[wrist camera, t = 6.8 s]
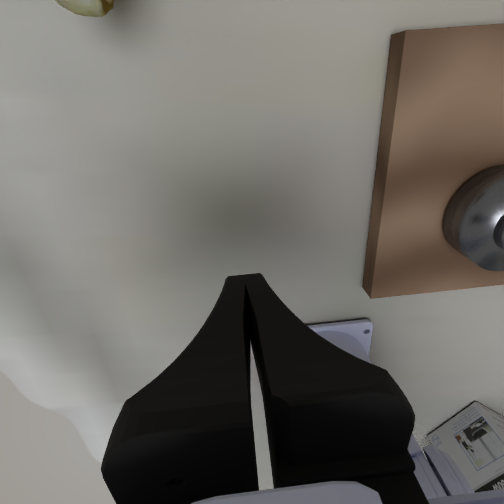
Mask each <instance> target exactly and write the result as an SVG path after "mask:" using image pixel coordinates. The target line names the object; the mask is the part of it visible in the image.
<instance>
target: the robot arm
mask: <svg viewBox="0 0 504 504" xmlns="http://www.w3.org/2000/svg"><path fill="white" fill-rule="evenodd" d="M366 329H367V330H366ZM364 330H366V331H364ZM372 331H373V323H372V322H371V320H369V319H364V320H355V321H345V322H336V323H327V324H318V325H309V326H307V325H306V324H304V323H303V322H302V321H301V320H300V319H299V318H298V317H297V316H295V315H294V314H293V313H292V312H291V311H290V310H289V309H288V308H287V306H286V305H285V304H284V303H283V302H282V301H281V300H280V299H279V297H278V296H277V295H276V294H275V293H274V291H273V290H272V289H271V287H270V286H269V285H268V283H267V282H266V280H265V278H264V277H263V275H262V274H260V273H256V274H246V275H237V276H228V277H227V278H226V280H225V284H224V287H223V289H222V292H221V294H220V296H219V298H218V300H217V302H216V304H215V306H214V308H213V310H212V312H211V313H210V315H209V317H208V318H207V320H206V322H205V323H204V325H203V326H202V328H201V329H200V331H199V332H198V334H197V335H196V336H195V337H194V339H193V340H192V341H191V343H190V344H189V345H188V346H187V347H186V348H185V350H184V351H183V352H182V353H181V354H180V355H179V356H178V357H177V359H176V360H175V361H174V362H173V363H172V364H170V365H169V366H168V367H167V368H166V369H165V370H164V371H163V372H162V373H161V374H160V375H159V376H158V377H156V378H155V379H154V380H153V381H152V382H150V383H149V384H148V385H146V386H145V387H144V388H142V389H141V390H140V391H139V392H137V393H136V394H135V395H133V396H132V397H131V398H129V399H128V400H126V401H125V403H124V405H123V407H122V410H121V412H120V414H119V416H118V418H117V420H116V423H115V425H114V427H113V430H112V433H111V435H110V438H109V442H108V445H107V448H106V451H105V455H104V458H103V462H102V466H101V472H102V475H103V479H104V481H105V483H106V484H107V486H108V488H109V490H110V492H111V494H112V496H113V498H114V500H115V502H116V504H504V489H498V490H491V491H483V492H476V493H475V492H474V490H473V489H472V487H471V486H470V484H469V482H468V481H467V479H466V478H465V476H464V475H463V473H462V472H461V470H460V469H459V467H458V466H457V464H456V463H455V462H454V460H453V459H452V458H451V456H450V455H449V454H447V453H446V452H444V451H442V450H440V449H437V448H436V447H435V446H434V445H428V446H426V447H423V450H424V453H425V455H426V457H427V459H426V458H425V456H424V454H423V453H422V451H421V449H420V447H419V445H418V443H417V441H416V440H415V438H414V436H413V434H412V431H413V428H414V422H415V414H414V412H413V409H412V407H411V405H410V403H409V401H408V400H407V398H406V396H405V395H404V393H403V392H402V390H401V389H400V388H399V386H398V385H397V383H396V382H395V381H394V379H393V378H392V377H391V376H390V374H389V373H388V372H387V371H386V370H384V369H382V368H380V367H378V366H375V365H373V364H372V363H371V362H370V360H369V352H370V345H371V338H372ZM250 340H251V345H252V350H253V354H254V359H255V363H256V368H257V372H258V377H259V381H260V386H261V391H262V396H263V402H264V410H265V418H266V427H267V435H268V443H269V451H270V460H271V468H272V476H273V485H274V489H268V490H260V491H259V486H258V475H257V464H256V453H255V442H254V432H253V421H252V410H251V394H250ZM427 460H428V461H427ZM428 462H429V463H428Z"/></svg>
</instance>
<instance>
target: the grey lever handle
mask: <svg viewBox="0 0 504 504" xmlns="http://www.w3.org/2000/svg"><path fill="white" fill-rule="evenodd" d="M444 233H445V237H446V239H447V241H448V243H449V244H450V245H451V246H452V247H453V248H454V249H455V250H457V251H458V252H459V253H461V254H462V255H464V256H465V257H467V258H468V259H469V260H471V261H472V262H474V263H475V264H476V265H478V266H479V267H481V268H483V269H485V270H489V271H504V165H502V166H497V167H493V168H491V169H488V170H486V171H484V172H482V173H480V174H478V175H477V176H475V177H474V178H472V179H471V180H470V181H468V182H467V183H466V184H465V185H464V186H463V187H462V188H461V189H460V190H459V191H458V193H457V194H456V195H455V197H454V198H453V200H452V202H451V203H450V205H449V207H448V209H447V212H446V215H445V220H444Z"/></svg>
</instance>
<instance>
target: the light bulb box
mask: <svg viewBox="0 0 504 504" xmlns="http://www.w3.org/2000/svg"><path fill="white" fill-rule="evenodd" d="M427 437H428V439H429V440H430V442H431V444H432V445H434V446H435V447H436V448H437V449H440V450H442V451H444V452H446V453H447V454H449V455H450V456H451V458H452V459H453V460H454V462H455V463H456V464H457V466H458V467H459V469H460V470H461V472H462V473H463V475H464V476H465V478H466V479H467V481H468V482H469V484H470V486H471V487H472V489H473V490H474V492H475V493H476V492H483V491H491V490H498V489H504V417H503V416H501V415H499V414H497V413H495V412H494V411H492V410H490V409H488V408H487V407H485V406H483V405H481V404H480V403H478V402H474V403H473V404H471V405H470V406H469V407H467V408H466V409H464V410H463V411H461V412H460V413H459V414H457V415H456V416H455V417H453V418H452V419H450V420H449V421H448V422H446V423H445V424H443V425H442V426H441V427H439V428H438V429H436V430H435V431H433V432H432V433H431V434H429V435H428V436H427Z"/></svg>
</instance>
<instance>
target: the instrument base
mask: <svg viewBox="0 0 504 504" xmlns="http://www.w3.org/2000/svg"><path fill="white" fill-rule="evenodd" d="M502 165H504V24H491V25H477V26H463V27H448V28H434V29H420V30H406V31H402V32H399V33H396V34H392V35H391V42H390V51H389V60H388V68H387V77H386V86H385V95H384V103H383V112H382V121H381V129H380V138H379V147H378V156H377V164H376V173H375V182H374V191H373V199H372V208H371V217H370V226H369V234H368V243H367V252H366V260H365V269H364V278H363V288H364V290H365V291H366V293H367V294H368V296H369V297H370V299H372V298H381V297H391V296H400V295H409V294H419V293H428V292H438V291H447V290H457V289H466V288H475V287H485V286H494V285H504V271H489V270H485V269H483V268H481V267H479V266H478V265H476V264H475V263H474V262H472V261H471V260H469V259H468V258H467V257H465V256H464V255H462V254H461V253H459V252H458V251H457V250H455V249H454V248H453V247H452V246H451V245H450V244H449V243H448V241H447V239H446V237H445V233H444V220H445V215H446V212H447V209H448V207H449V205H450V203H451V202H452V200H453V198H454V197H455V195H456V194H457V193H458V191H459V190H460V189H461V188H462V187H463V186H464V185H465V184H466V183H467V182H468V181H470V180H471V179H472V178H474V177H475V176H477V175H478V174H480V173H482V172H484V171H486V170H488V169H491V168H493V167H497V166H502Z"/></svg>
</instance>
